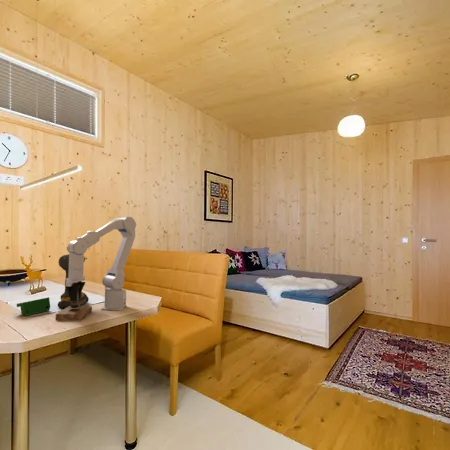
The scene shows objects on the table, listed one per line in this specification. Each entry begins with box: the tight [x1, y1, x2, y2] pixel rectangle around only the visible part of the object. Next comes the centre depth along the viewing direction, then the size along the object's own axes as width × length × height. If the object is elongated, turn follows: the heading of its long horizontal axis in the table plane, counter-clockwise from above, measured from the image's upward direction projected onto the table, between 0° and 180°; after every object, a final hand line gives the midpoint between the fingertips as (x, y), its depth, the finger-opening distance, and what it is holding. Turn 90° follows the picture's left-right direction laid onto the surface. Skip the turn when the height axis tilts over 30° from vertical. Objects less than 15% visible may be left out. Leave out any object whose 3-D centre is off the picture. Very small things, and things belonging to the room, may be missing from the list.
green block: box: [16, 297, 51, 317], centre depth 129 cm, size 12×6×9 cm, turn 147°
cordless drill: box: [57, 253, 89, 309], centre depth 145 cm, size 9×20×25 cm, turn 174°
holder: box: [55, 305, 93, 321], centre depth 126 cm, size 10×12×2 cm
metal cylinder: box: [71, 290, 79, 308], centre depth 126 cm, size 3×3×8 cm
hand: (75, 300), depth 126 cm, fingers closed on metal cylinder, 3 cm apart
